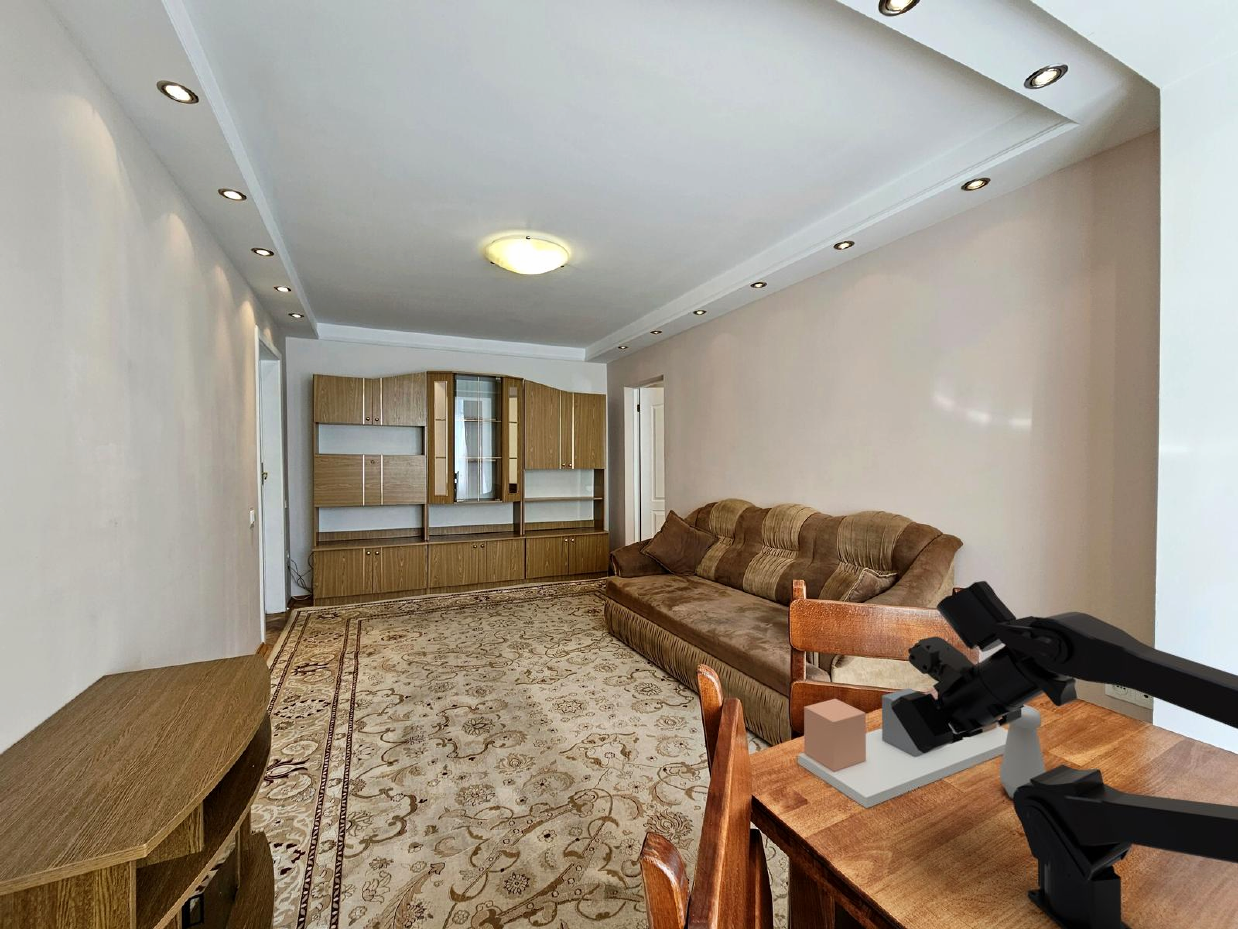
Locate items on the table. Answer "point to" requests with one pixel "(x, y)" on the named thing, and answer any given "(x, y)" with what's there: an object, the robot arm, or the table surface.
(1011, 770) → the salt shaker
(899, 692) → the dark slate block
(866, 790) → the grey base board
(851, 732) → the terracotta block
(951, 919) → the table surface
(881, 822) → the table surface
